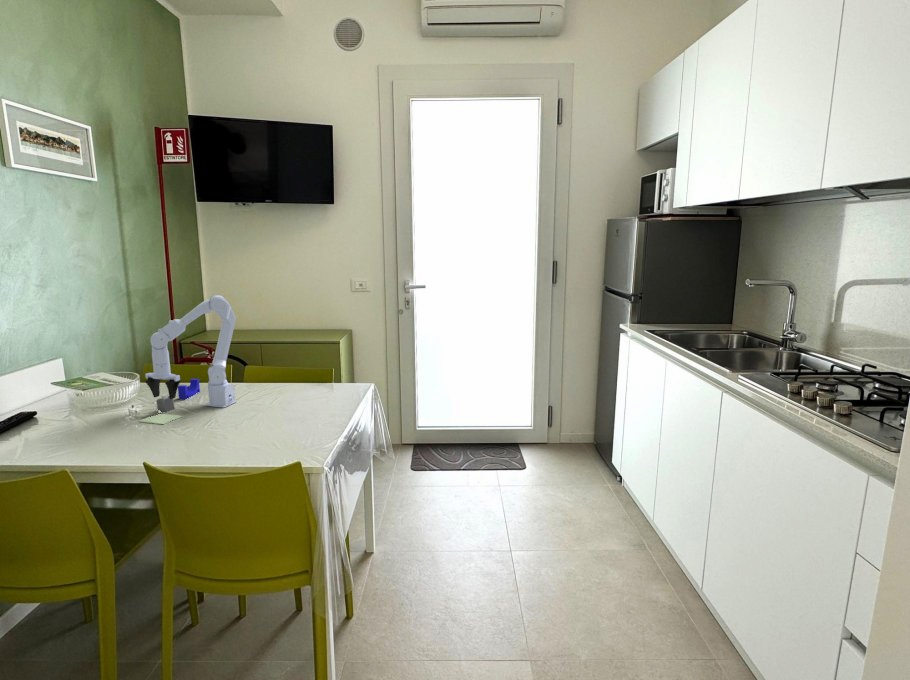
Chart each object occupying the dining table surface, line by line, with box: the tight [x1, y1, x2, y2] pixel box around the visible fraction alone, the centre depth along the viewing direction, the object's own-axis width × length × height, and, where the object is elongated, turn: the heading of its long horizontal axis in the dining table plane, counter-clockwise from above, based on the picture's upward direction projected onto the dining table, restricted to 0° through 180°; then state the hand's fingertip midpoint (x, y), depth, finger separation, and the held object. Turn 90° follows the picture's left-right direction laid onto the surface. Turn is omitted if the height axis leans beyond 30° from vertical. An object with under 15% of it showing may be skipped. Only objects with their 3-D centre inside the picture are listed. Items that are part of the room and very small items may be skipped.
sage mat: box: [138, 413, 183, 425], centre depth 199 cm, size 11×9×1 cm
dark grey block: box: [156, 393, 175, 413], centre depth 208 cm, size 3×7×6 cm, turn 164°
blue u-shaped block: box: [177, 378, 201, 400], centre depth 228 cm, size 12×4×6 cm, turn 179°
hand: (164, 397), depth 208 cm, fingers open, 7 cm apart
